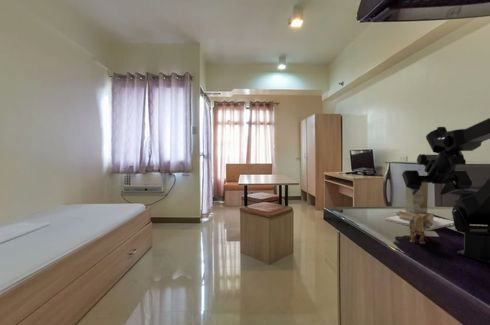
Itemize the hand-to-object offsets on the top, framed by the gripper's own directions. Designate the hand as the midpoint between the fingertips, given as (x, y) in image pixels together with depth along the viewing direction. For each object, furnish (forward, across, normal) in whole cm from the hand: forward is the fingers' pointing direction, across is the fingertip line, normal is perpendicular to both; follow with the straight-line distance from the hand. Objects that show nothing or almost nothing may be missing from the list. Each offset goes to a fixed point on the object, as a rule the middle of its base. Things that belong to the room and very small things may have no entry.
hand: (426, 194), depth 92 cm
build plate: (+14, -1, +3) cm, 14 cm away
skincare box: (+12, 0, 0) cm, 12 cm away
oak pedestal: (+14, 0, +3) cm, 14 cm away
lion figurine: (-2, +8, +19) cm, 21 cm away
